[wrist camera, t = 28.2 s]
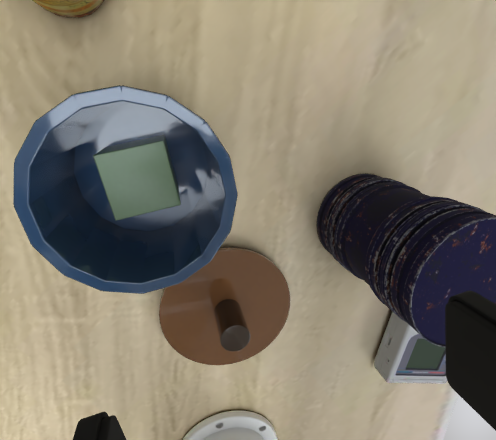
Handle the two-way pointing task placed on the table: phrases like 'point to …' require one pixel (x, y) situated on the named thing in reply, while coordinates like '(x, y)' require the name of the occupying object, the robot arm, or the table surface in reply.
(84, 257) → the crock
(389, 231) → the dark blue barrel
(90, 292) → the table surface
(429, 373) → the handheld gaming device
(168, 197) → the block
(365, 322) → the table surface
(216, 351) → the lid
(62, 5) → the sauce bottle
